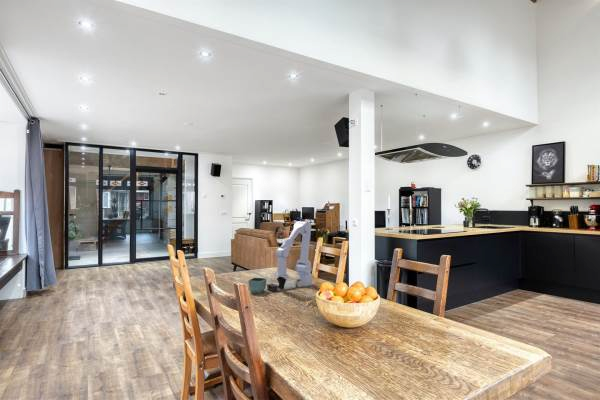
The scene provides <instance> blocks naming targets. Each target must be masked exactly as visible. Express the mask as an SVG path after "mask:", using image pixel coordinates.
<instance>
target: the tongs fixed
mask: <svg viewBox="0 0 600 400" xmlns="http://www.w3.org/2000/svg"><path fill="white" fill-rule="evenodd" d="M289 282H295V288H301V287H302V288H303V287H304V286H303V281H300V279H298V278H297V279H293V281H292V280H290V281H286V282H285V283H289ZM277 284H279V283H278V282H274V283H268V284H267V283H266V291H268V292H271V291H270V285H277Z"/></svg>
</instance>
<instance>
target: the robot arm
mask: <svg viewBox="0 0 600 400" xmlns="http://www.w3.org/2000/svg"><path fill="white" fill-rule="evenodd" d="M311 231H312V224H311V223H310V221H303V220H302V221H300V220H299V221H298V220H296V221H295V223H294V225H293V228H292V231H291V233H290V235H289V237H288V238H285V239H284V241H283V242H282V244H281V245H280V246H279V248H277V249H276V251H275V252H274V253H275V256H276V260H277V263H276V267H277V268H276V269H277V270H276V271H277V272H274V276H275V277H276V280H277V283H279V287H280V289H284V285H285V282H287V280H290V276H289V275H288V274H287V271H288V270H287V262H288V260H287V257H289V254H290V249H291V248H292V247H293V245H294V241H295V239H296V238H297V237H298V235H299V234H300V235H301V236H302V237H301V248H300V257H299V259H298V260H297V261H296V264H295V271H296V272H297V279H300V281H303V287H308V286H313V284H314V281H313V280H314V279H313V274H312V273H311V272H312V270H313V269H312V268H313V267H312V262H311V261H310V260H309V254H310V245H311V244H310V242H311V235H312V234H311Z"/></svg>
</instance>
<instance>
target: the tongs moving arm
mask: <svg viewBox="0 0 600 400" xmlns="http://www.w3.org/2000/svg"><path fill="white" fill-rule="evenodd" d="M295 288H296V287H295V282H294V281H293V282H289V283H285V285H284V289H280V287H279V284H277V285H270V291H269V292H271V293H273V292H279V291H284V290H290V289H291V290H292V289H295Z"/></svg>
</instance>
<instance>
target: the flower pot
mask: <svg viewBox="0 0 600 400" xmlns="http://www.w3.org/2000/svg"><path fill="white" fill-rule="evenodd" d="M248 287H249V291H250V293H251V294H262V293H263V292H264V291H265V289H266V288H267V278H265V277H253V278H251V279H249V280H248Z"/></svg>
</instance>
